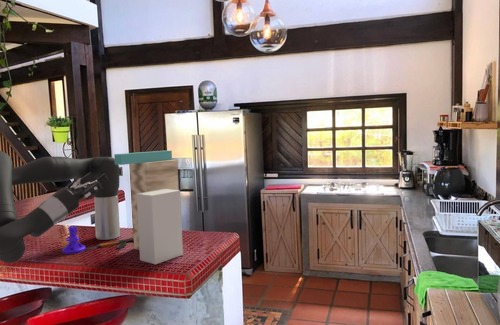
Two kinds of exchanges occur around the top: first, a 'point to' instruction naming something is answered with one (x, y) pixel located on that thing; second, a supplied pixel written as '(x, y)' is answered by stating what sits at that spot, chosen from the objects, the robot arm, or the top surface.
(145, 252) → the white tall block
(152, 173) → the stand
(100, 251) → the top surface
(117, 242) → the toy rifle
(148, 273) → the top surface
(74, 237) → the figurine
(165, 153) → the teal long bar
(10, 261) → the robot arm
